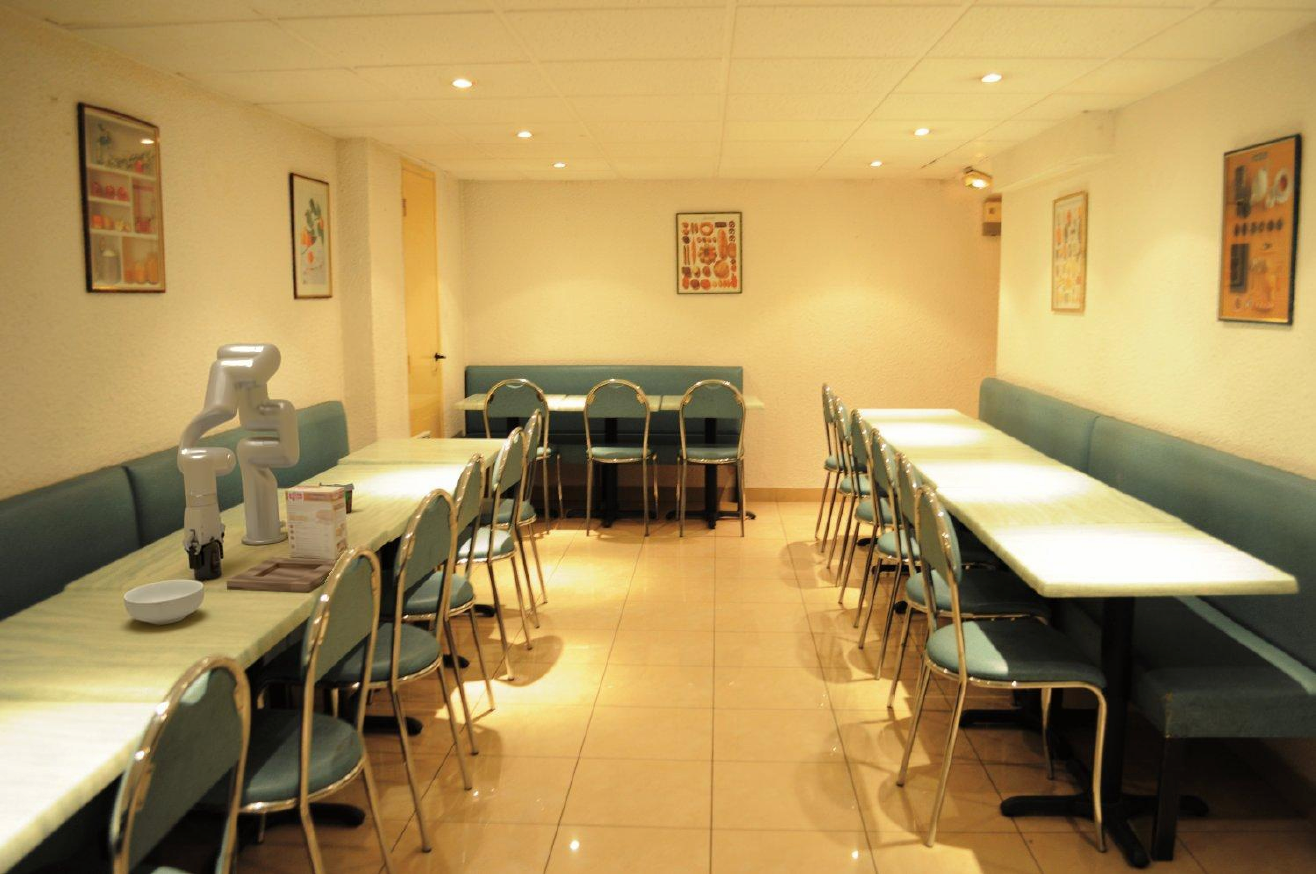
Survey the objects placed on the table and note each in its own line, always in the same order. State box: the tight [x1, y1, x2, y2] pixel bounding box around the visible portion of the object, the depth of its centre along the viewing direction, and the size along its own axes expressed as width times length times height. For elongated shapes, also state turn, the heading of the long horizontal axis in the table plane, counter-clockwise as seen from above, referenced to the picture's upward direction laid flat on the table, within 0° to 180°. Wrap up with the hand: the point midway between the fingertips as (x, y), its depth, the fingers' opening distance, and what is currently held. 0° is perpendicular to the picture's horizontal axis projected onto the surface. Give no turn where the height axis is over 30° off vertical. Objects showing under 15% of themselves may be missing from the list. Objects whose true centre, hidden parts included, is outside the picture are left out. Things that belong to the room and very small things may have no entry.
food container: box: [318, 482, 355, 515], centre depth 342 cm, size 12×6×10 cm, turn 81°
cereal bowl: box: [123, 579, 205, 625], centre depth 239 cm, size 17×17×7 cm
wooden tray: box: [225, 557, 338, 594], centre depth 270 cm, size 22×22×2 cm
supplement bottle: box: [192, 535, 223, 582], centre depth 271 cm, size 7×7×12 cm
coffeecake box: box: [284, 484, 349, 560], centre depth 291 cm, size 15×7×20 cm, turn 74°
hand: (206, 563), depth 271 cm, fingers open, 9 cm apart
